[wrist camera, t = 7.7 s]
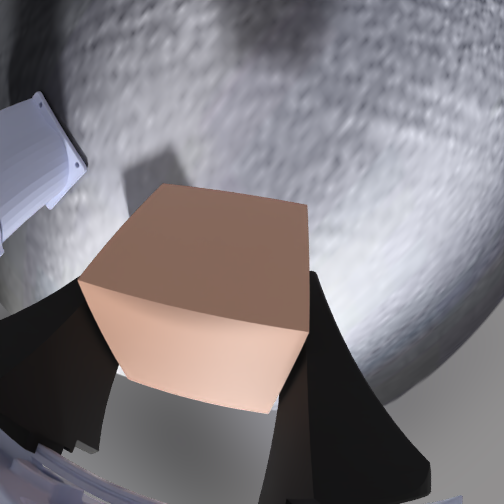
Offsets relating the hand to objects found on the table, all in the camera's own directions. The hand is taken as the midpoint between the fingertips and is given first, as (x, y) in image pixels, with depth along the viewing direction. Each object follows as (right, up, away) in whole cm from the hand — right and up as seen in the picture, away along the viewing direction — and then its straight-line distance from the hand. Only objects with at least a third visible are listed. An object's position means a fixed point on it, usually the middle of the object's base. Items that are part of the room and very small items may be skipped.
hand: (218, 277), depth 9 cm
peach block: (0, +1, +1) cm, 1 cm away
